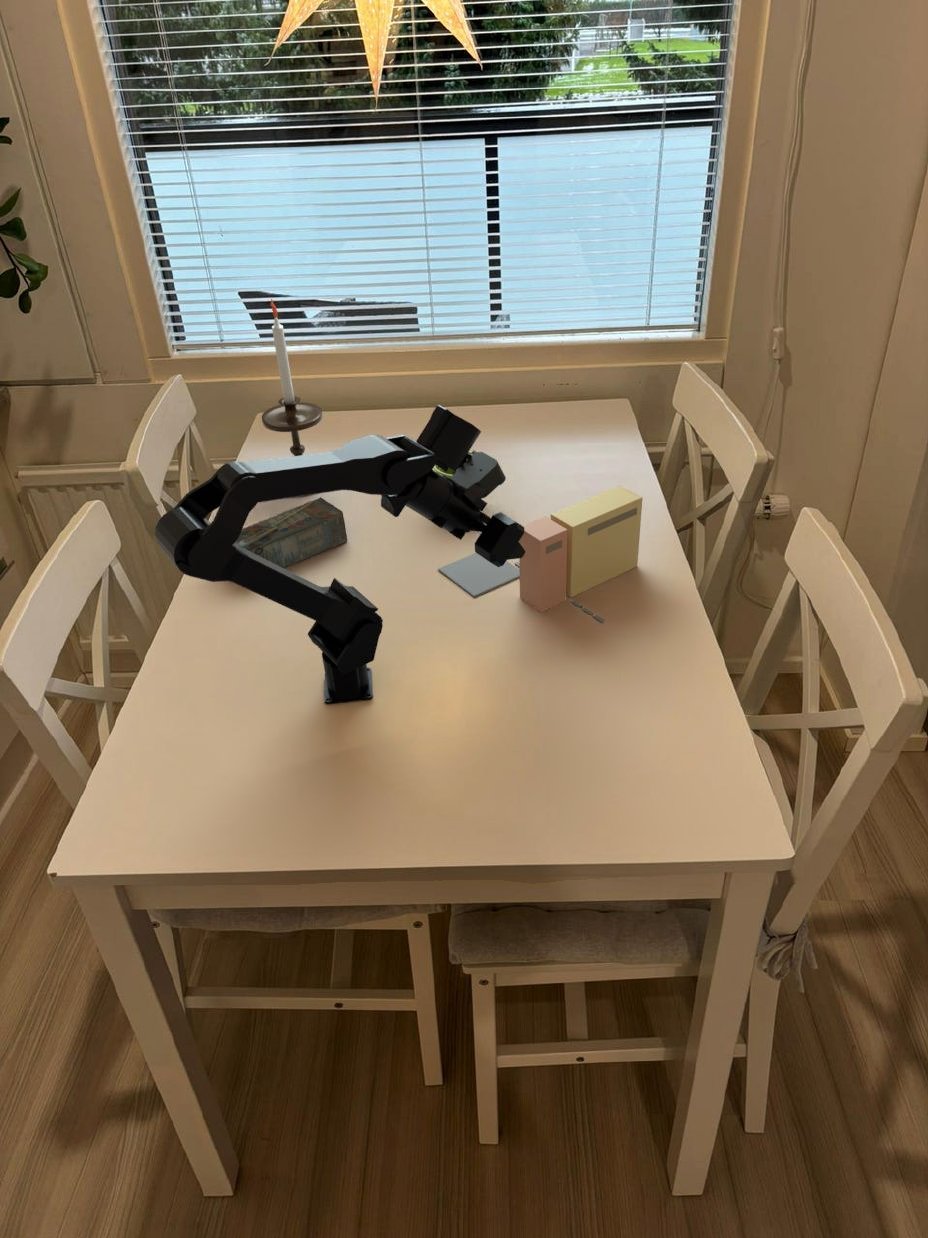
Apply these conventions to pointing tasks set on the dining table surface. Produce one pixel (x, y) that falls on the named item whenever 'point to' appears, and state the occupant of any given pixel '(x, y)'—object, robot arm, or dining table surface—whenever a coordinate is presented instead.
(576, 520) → the block
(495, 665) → the dining table surface
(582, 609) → the perforation marks
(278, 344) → the candlestick
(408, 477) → the robot arm
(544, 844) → the dining table surface
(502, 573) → the coaster
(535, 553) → the stub
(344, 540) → the beverage carton
